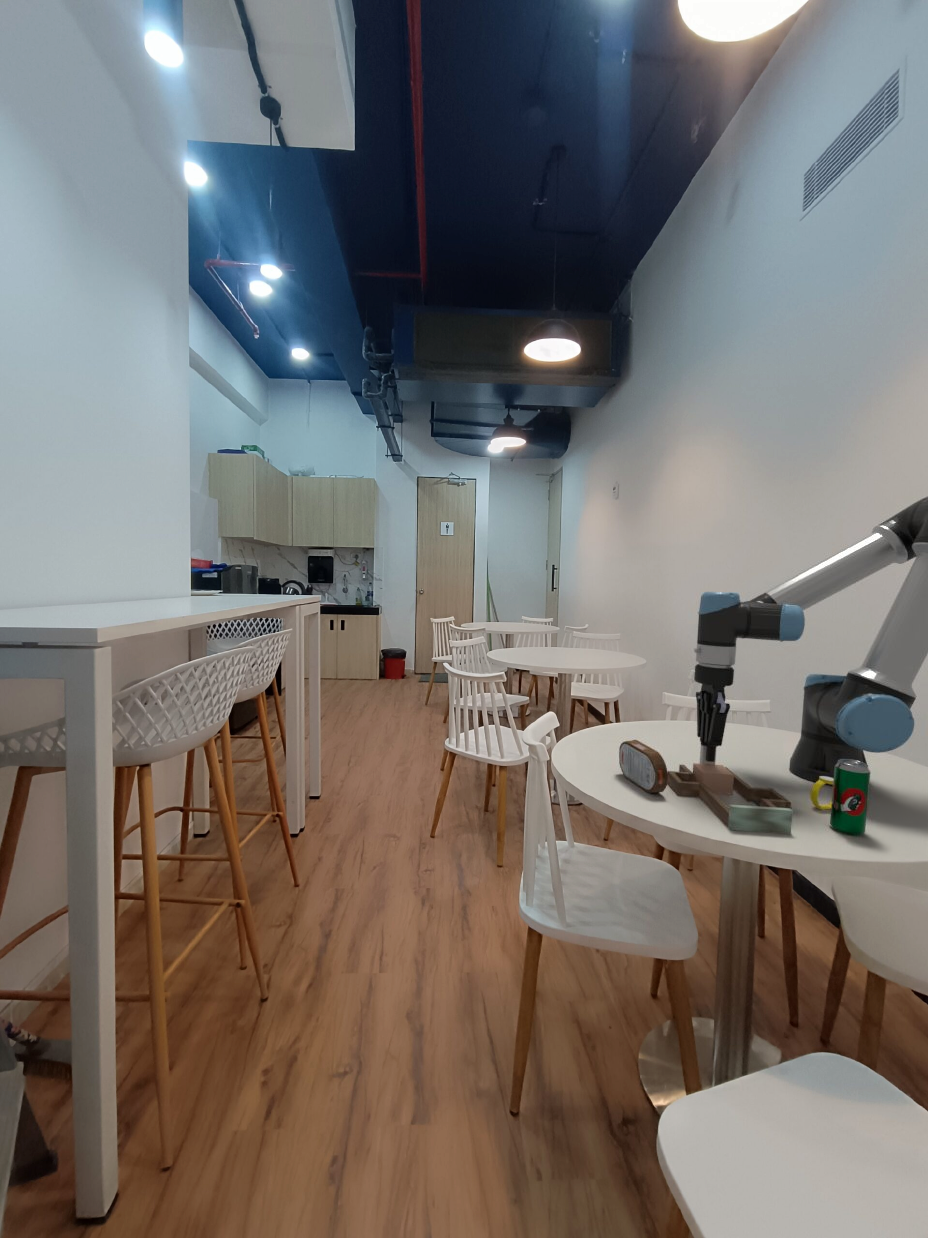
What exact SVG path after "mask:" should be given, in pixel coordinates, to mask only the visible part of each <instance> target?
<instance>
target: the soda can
mask: <svg viewBox="0 0 928 1238" xmlns="http://www.w3.org/2000/svg"><path fill="white" fill-rule="evenodd" d="M870 783H871V771H870V769H869V765H868V763H867V764H866V763H863V762H860V761H856V760H851V759H839V760H838V763H837V764H836V765H835V769H834V781H833V785H832V793H831V794H832V796H831V801H832V804H831V809H830V816H829V817H830V819H829V824H830V826H831V827H832V829H834V830H835V831H837V832H840V834H841V833H842V834H843V835H848V836H854V837H855V836H856V837H857V836H861V835H864V833H865V832H866V826H867V816H868V815H867V814H868V804H869V794H870V792H869V791H870Z"/></svg>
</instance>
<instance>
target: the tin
mask: <svg viewBox="0 0 928 1238" xmlns="http://www.w3.org/2000/svg"><path fill="white" fill-rule="evenodd" d="M618 748H619V749H618V750H619V751H618V755H619V756H618V757H619V760H618V761H619V763H618V764H619V767H620V770H621V773H622V775H624V776H623V777H625V778H626V779H627V780H629V781H630V782H631V783H632V784H635V785H636V786H637V787H638V788H639V789H641V790H642V791H644V792H646V793H648V794H651V793H662V792H664V791H665V790H666V788H667V787H668V767H667V764H666V762H665V759H664V757H663V756H662V755H661V754H660V752H659V751H657V750H655V749H653V748H652V747H650V746H648V745H647V744H645V743H643V742H641V741H639V740H637V739H632V740H626V741H622V743H620V746H619V747H618Z"/></svg>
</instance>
